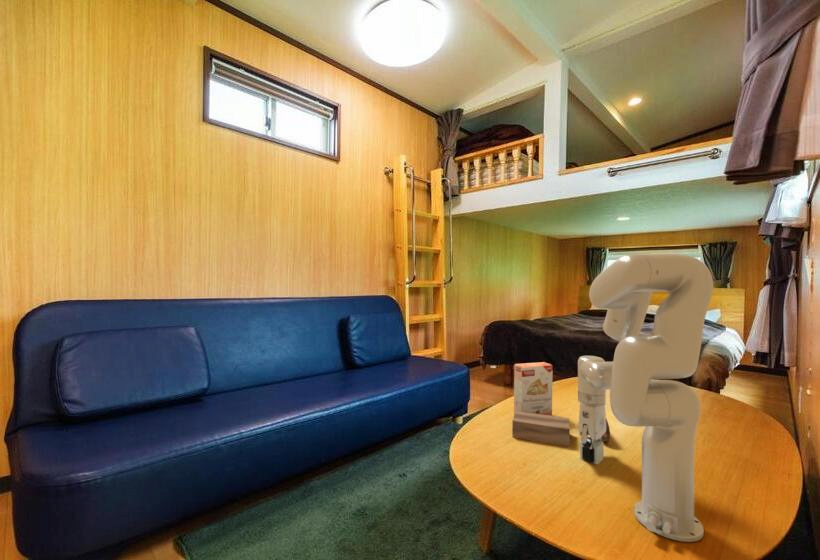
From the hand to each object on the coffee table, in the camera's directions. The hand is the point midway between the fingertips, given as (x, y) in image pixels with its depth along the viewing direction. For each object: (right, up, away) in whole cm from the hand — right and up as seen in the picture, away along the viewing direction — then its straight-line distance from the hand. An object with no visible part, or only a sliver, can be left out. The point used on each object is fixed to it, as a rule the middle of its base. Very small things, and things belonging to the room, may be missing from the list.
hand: (591, 456), depth 108 cm
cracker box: (-6, -1, +33) cm, 33 cm away
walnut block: (-10, -1, +16) cm, 18 cm away
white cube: (0, -1, 0) cm, 1 cm away
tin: (+10, -1, +15) cm, 18 cm away
